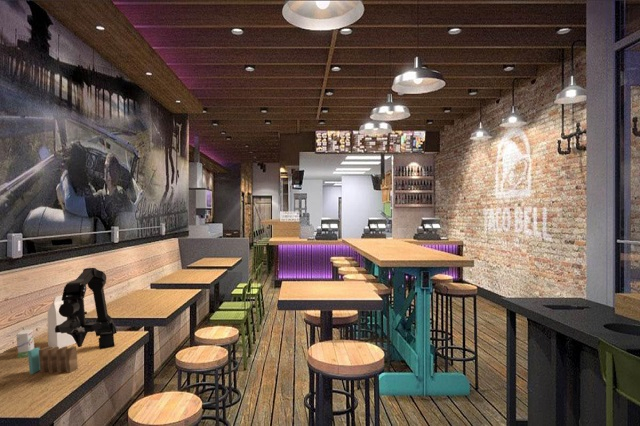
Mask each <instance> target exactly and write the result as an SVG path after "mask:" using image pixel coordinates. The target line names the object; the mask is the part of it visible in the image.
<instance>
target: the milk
mask: <svg viewBox="0 0 640 426" xmlns="http://www.w3.org/2000/svg"><path fill="white" fill-rule="evenodd" d="M62 295H63V294H61V295H57V296H54V297H53V300H52V303H51V305H50V307H49V308H48V310H47V347H50V348H53V347H59V349H60V348H62V347H64V346H67V347H68V346H72V345H74V344H75V343H76V342H75V340H74V338H73V337H72V336H71V335H69V334H67V333H61V332H60V333H55V327H56V326H57V325H60V324H62V323H63V322H64V321H66V320H67V317H63V316H61V315H60V313H59V308H60V306H61V305H62V304H63V301H62Z"/></svg>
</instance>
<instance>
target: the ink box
mask: <svg viewBox="0 0 640 426" xmlns="http://www.w3.org/2000/svg"><path fill="white" fill-rule="evenodd" d="M15 335H16V344H17V356H18V357H17V358H18V359H22V358H29V357H28V351H30V350H32V349H34V348H35V340H34V339H35V337H34V329H33V328H32V329H31V328H30V329H23V330H20V331H19V332H18V333H17V334H15Z"/></svg>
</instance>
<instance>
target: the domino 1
mask: <svg viewBox="0 0 640 426" xmlns="http://www.w3.org/2000/svg"><path fill="white" fill-rule="evenodd" d="M40 349H41V347H34V349H32V350H30V351H28V357H27V358H28V366H29V374H30V375H34V374H36V373H38V372H40V360H39V350H40Z"/></svg>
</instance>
